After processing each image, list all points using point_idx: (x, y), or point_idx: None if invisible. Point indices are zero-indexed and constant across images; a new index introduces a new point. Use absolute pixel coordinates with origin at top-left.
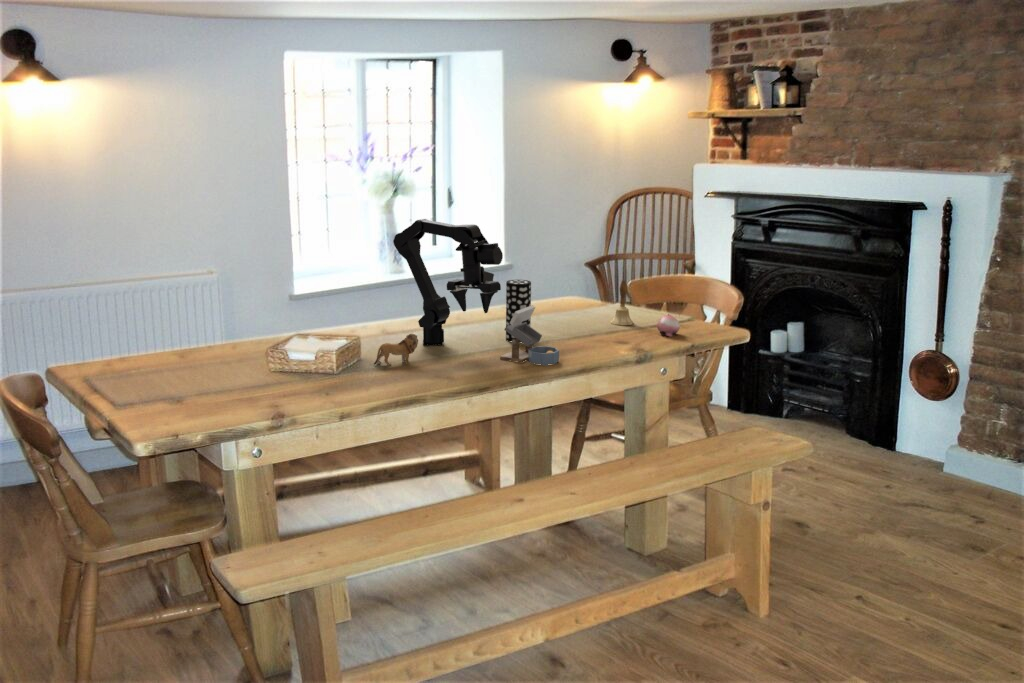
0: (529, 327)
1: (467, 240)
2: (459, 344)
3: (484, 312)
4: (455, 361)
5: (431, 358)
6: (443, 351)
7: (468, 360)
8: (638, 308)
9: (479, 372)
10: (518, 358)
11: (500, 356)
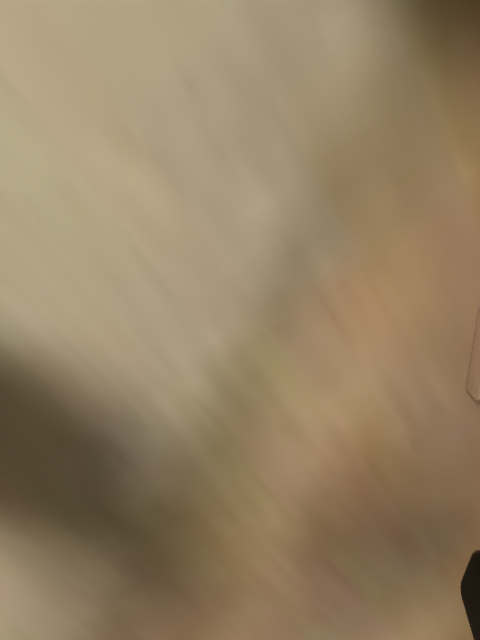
0: None
1: None
2: (3, 233)
3: (465, 604)
4: (263, 549)
5: (118, 575)
6: (61, 442)
7: (312, 502)
8: None
9: None
10: None
11: (478, 399)
